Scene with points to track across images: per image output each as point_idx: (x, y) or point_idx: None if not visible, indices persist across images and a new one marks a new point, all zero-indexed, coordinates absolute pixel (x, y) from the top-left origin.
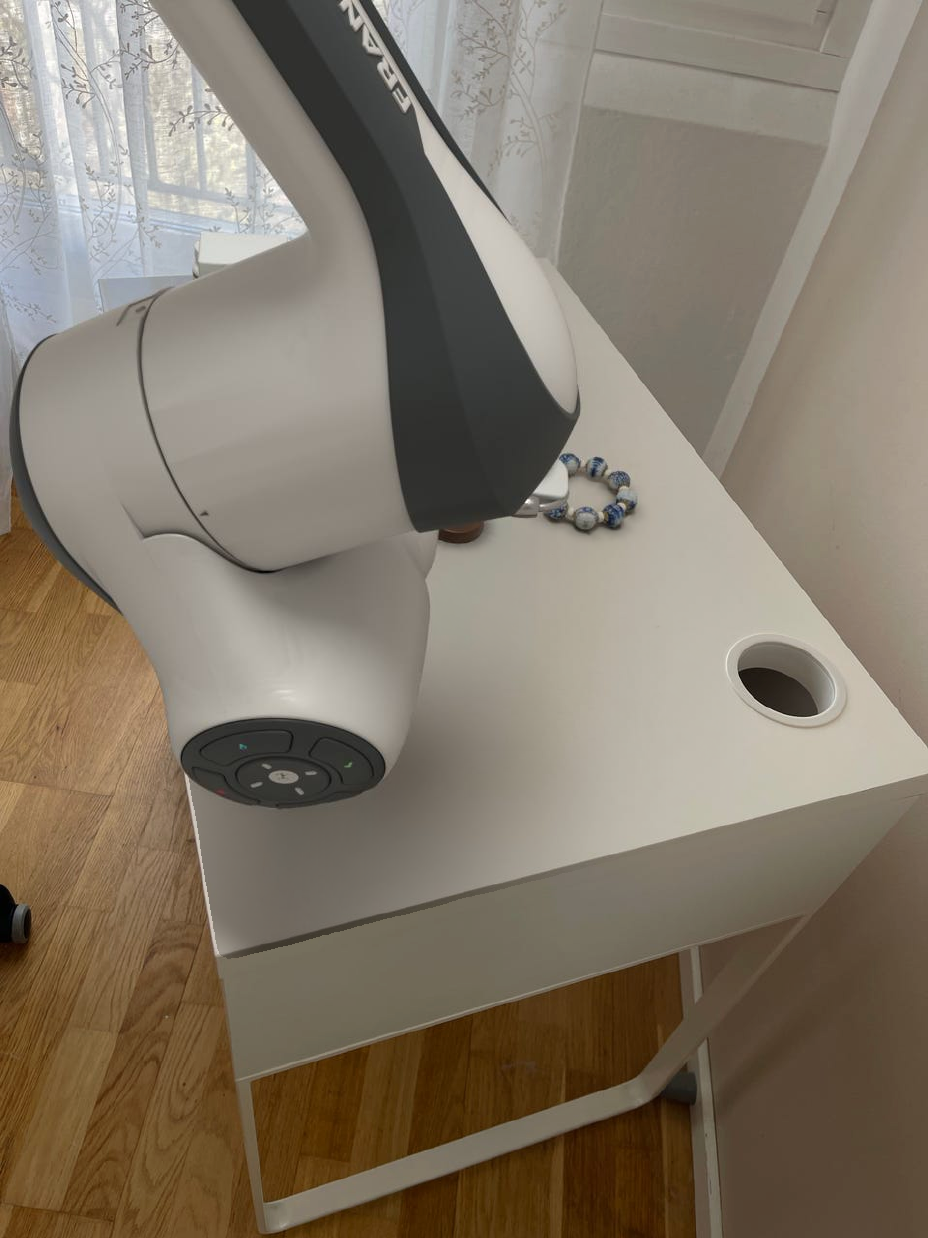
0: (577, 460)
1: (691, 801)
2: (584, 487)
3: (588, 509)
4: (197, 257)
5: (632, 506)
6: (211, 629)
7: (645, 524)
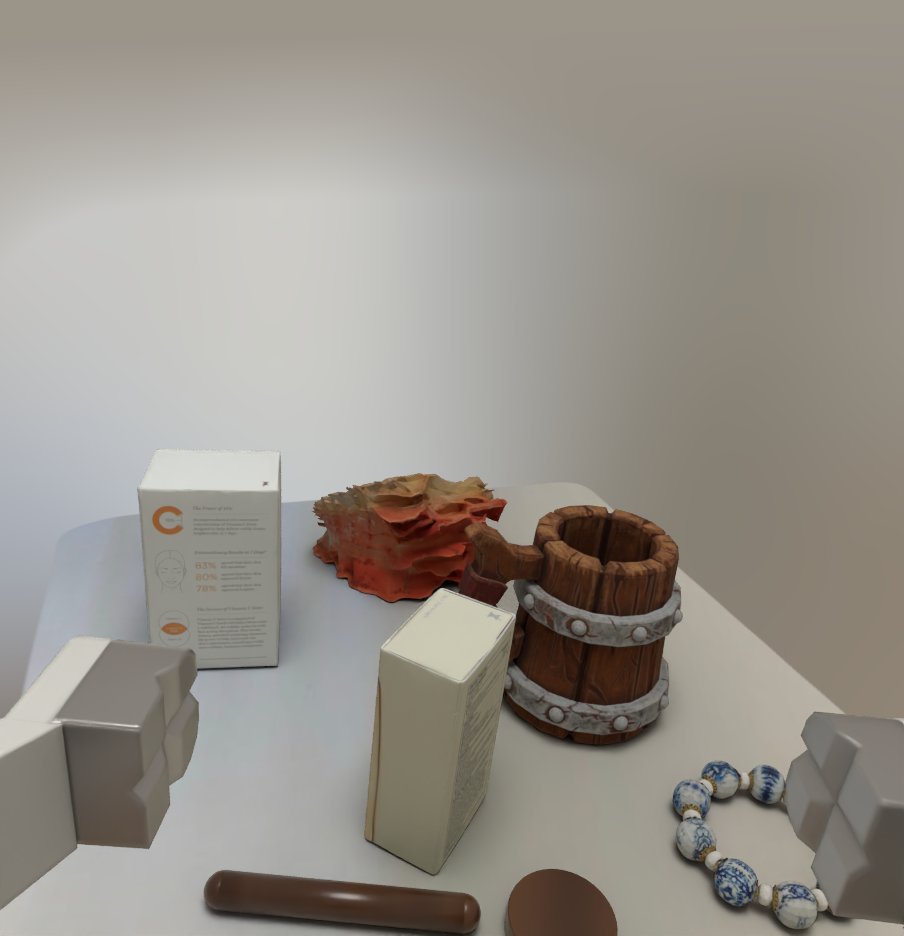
0: (736, 774)
1: None
2: (755, 823)
3: (801, 891)
4: None
5: None
6: None
7: None
